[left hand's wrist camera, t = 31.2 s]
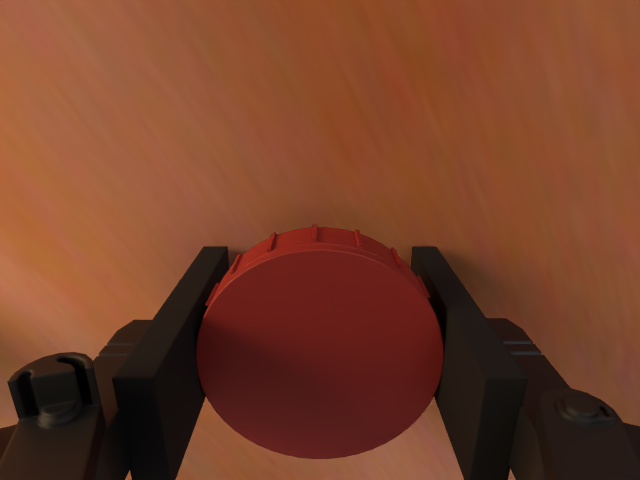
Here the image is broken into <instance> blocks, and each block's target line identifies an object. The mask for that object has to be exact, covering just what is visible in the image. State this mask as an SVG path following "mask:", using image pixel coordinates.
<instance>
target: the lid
mask: <svg viewBox="0 0 640 480" xmlns="http://www.w3.org/2000/svg"><path fill="white" fill-rule="evenodd" d="M428 298H430V295H429V293H428V291H427V289H426V287H425V285H424V283H423V282H422V280H421V278H420V276H419V275H418V276H417V277H416V276H415V274H414V273H413V272H412V270H411V269H410V268H409V266H408V265H407V264H406V263H405V262H404V261H403V260H402V259H401V258H400V257H399V256H398V254H397V252H396V250H395V249H394V248H393V247H392V248H391V250H390V249H389V248H387V247H386V246H384V245H383V244H381V243H379V242H377V241H375V240H373V239H371V238H369V237H366V236H364V235H361V234H360V232H359V230H356V229H355V232H351V231H347V230H343V229H335V228H326V227H323V228H317V224H316V225H313V228H304V229H297V230H292V231H289V232H285V233H281V234H278V235H276V233H273V234H271V237H270V238H269V239H266V240H264V241H263V242H261V243H259V244H257V245H256V246H254V247H252V248H251V249H250V250H248V251H247V252H246V253H245V254H243V255H242V254H241V253H240V254H238V255H237V258H236V260H235V262H234V264H233V265H232V266H231V267H230V269H229V270H228V271H227V273H226V274H225V276H224V277H223V279H222V281H221V282H220V284H219V283H216V285H215V287H214V289H213V291H212V293H211V295H210V297H209V299H208V301H207V303H206V306H208V308H207V310H206V312H205V314H204V316H203V319H202V322H201V325H200V328H199V331H198V336H197V341H196V362H197V370H198V376H199V379H200V383H201V386H202V388H203V390H204V392H205V395H206V397H207V399H208V400H209V402H210V403H211V405H212V407H213V408H214V410H215V411H216V412H217V413H218V414H219V416H220V417H221V418H222V419H223V420H224V421H225V422H226V423H227V424H228V425H229V426H230V427H231V428H232V429H234V430H235V431H236V432H238V433H239V434H240V435H242V436H243V437H245V438H246V439H248V440H250V441H252V442H253V443H255V444H257V445H259V446H261V447H264V448H266V449H269V450H271V451H274V452H277V453H281V454H284V455H289V456H294V457H299V458H310V459H331V458H340V457H346V456H351V455H356V454H360V453H363V452H366V451H369V450H372V449H374V448H376V447H378V446H381V445H383V444H385V443H387V442H388V441H390V440H392V439H394V438H395V437H397V436H398V435H400V434H401V433H402V432H404V431H405V430H406V429H408V428H409V427H410V426H411V425H412V424H413V423H414V422H415V421H416V420H417V419H418V418H419V417H420V416H421V414H422V413H423V412H424V411H425V409H426V408H427V407H428V405H429V403H430V402H431V400H432V398H433V397H434V395H435V392H436V390H437V388H438V385H439V383H440V379H441V375H442V369H443V360H444V341H443V337H442V332H441V328H440V325H439V322H438V320H437V317H436V315H435V313H434V311H433V308H432V307H431V304H430V302H429V300H428Z"/></svg>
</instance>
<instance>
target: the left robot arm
mask: <svg viewBox="0 0 640 480" xmlns="http://www.w3.org/2000/svg"><path fill="white" fill-rule="evenodd" d="M228 270H229V261H228V249H227V247H203V249H202V250H201V251H200V253H199V254H198V256H197V257H196V259H195V260H194V261H193V263H192V264H191V266H190V267H189V269H188V270H187V271H186V273H185V274H184V276H183V277H182V279H181V280H180V281H179V283H178V284H177V286H176V287H175V288H174V290H173V291H172V293H171V294H170V296H169V297H168V298H167V300H166V301H165V303H164V304H163V306H162V307H161V308H160V310H159V311H158V313H157V314H156V316H155V317H154V318H153V320H133V321H132V322H130V323H129V324H127V325H126V326H124V327H123V328H121V329H119V330H118V331H117V332H116V333H115V334H114V336H113V337H112V338H111V339H110V341H109V342H108V343H107V346H105V347H104V348H103V349H102V351H101V352H100V353H99V356H97V357H96V358H95V359H94V360H93V362H92V359H91V358H89V357H88V356H87V355H86V354H81V353H76V352H68V353H58V354H54V355H50V356H46V357H43V358H41V359H38V360H36V361H33V362H31V363H29V364H27V365H26V366H24V367H23V368H21V369H20V370H18V371H17V372H15V374H14V375H13V376H12V377H11V378H10V379H9V380H8V385H9V389H10V392H11V395H12V399H13V402H14V405H15V409H16V412H17V415H18V418H19V421H18V423H17V424H16V425H13V426H9V427H5V428H0V480H125V478H126V476H127V474H128V472H129V470H130V472H131V477H132V480H175V479H176V477H177V474H178V471H179V468H180V466H181V463H182V460H183V457H184V455H185V452H186V449H187V446H188V444H189V441H190V438H191V435H192V433H193V430H194V427H195V424H196V422H197V419H198V416H199V413H200V411H201V408H202V405H203V402H204V400H205V397H206V395H205V392H204V390H203V388H202V386H201V383H200V379H199V376H198V370H197V362H196V341H197V336H198V331H199V328H200V325H201V322H202V319H203V316H204V314H205V312H206V310H207V308H208V306H206V303H207V301H208V299H209V297H210V295H211V293H212V291H213V289H214V287H215V285H216V283H219V284H220V282H221V281H222V279H223V277H224V276H225V274H226V273H227V271H228ZM411 270H412V272H413V273H414V274H415V276H416V277H417V276H418V275H419V276H420V278H421V280H422V282H423V283H424V285H425V287H426V289H427V291H428V293H429V295H430V298H428V300H429V302H430V304H431V307H432V308H433V311H434V313H435V315H436V317H437V320H438V322H439V325H440V328H441V332H442V337H443V341H444V360H443V369H442V375H441V379H440V383H439V385H438V388H437V390H436V392H435V395H434V397H435V400H436V403H437V406H438V408H439V411H440V414H441V417H442V419H443V422H444V425H445V428H446V430H447V433H448V436H449V439H450V441H451V444H452V447H453V450H454V452H455V455H456V458H457V461H458V463H459V466H460V469H461V472H462V474H463V477H464V480H508V476H509V471H510V468H511V470H512V472H513V474H514V477H515V479H516V480H640V426H635V425H631V424H627V423H623V422H622V420H621V419H620V417H619V416H618V415H617V413H616V412H615V411H614V409H612V408H611V407H610V406H608V405H607V404H606V403H605V402H603V401H602V400H600V399H598V398H596V397H594V396H592V395H590V394H588V393H586V392H582V391H579V390H575V389H572V388H570V387H569V386H568V384H567V383H566V382H565V381H564V379H563V378H562V377H561V376H560V375H559V373H558V372H557V371H556V370H555V368H554V367H553V366H552V365H551V364H550V362H549V361H548V360H547V359H546V357H545V356H544V355H541V351H540V350H539V349H538V348H537V346H536V345H535V344H533V342H532V340H531V339H530V338H529V337H528V335H527V334H526V333H525V332H524V331H523V329H521V328H520V327H518V326H517V325H515V324H514V323H512V322H510V321H509V320H507V319H506V318H486V317H485V316H484V314H483V313H482V312H481V310H480V309H479V307H478V306H477V304H476V303H475V302H474V300H473V299H472V297H471V296H470V294H469V293H468V292H467V290H466V289H465V287H464V286H463V284H462V283H461V282H460V280H459V279H458V277H457V276H456V275H455V273H454V272H453V270H452V269H451V267H450V266H449V265H448V263H447V262H446V260H445V259H444V257H443V256H442V255H441V253H440V252H439V250H438V249H437V247H412V259H411Z"/></svg>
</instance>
